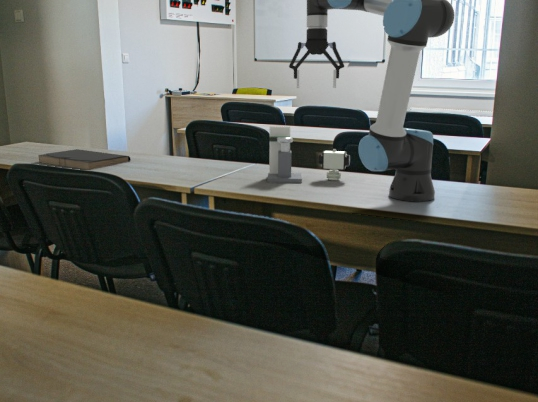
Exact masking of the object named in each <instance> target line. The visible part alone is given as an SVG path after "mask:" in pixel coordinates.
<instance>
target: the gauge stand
mask: <svg viewBox="0 0 538 402" xmlns="http://www.w3.org/2000/svg"><path fill="white" fill-rule="evenodd" d="M269 137H291V126H279V125H278V126H271V125H270V126H269ZM268 152H269V159H268V160H269V164H268V166H269V168H268V169H269V171H268V173H267V180H266V181H267V183H269V184H270V183H272V184H273V183H280V184H282V183H283V184H287V183H288V184H289V183H292V184H293V183H296V184H301V183H303V181H302V180H303V178H302V173H301V172H292V150H291V143H289V152H281V143H278V142H277V141H269V151H268Z"/></svg>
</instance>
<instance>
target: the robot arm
mask: <svg viewBox="0 0 538 402" xmlns="http://www.w3.org/2000/svg"><path fill="white" fill-rule="evenodd" d="M329 10H348V11H351V10H352V11H362V12H364V13H365V12H366V13H370V14H375V15H378V16H381V17H382V25H383V27H384V28H383V30H384V32H385V33H386V35H387V38H386V39H387V42H388V44H389V46H390V52H389V56H388V61H387V66H386V70H385V77H384V81H383V87H382V91H381V96H380V101H379V106H378V111H377V115H376V116H377V117H376V120H375V123H373V124H371V125H370V127H369V130H368V131H369V132H368V134H367V135H365V136H363V137H362V138H361V139H360V141H359V144H358V147H357V148H358V156H359V159H360V161H361V163H362V165H363V166H364V167H365V168H366V169H368V171H371V172H385V171H391V170H395V173H394V174H395V175H394V177H393V178H392V181H391V184H390V186H389V190H388V191H389V192H388V196H389V197H390V198H392V199H395V200H399V201H403V202H404V201H406V202H427V201H432V200H434V199H435V196H436V195H435V193H436V191H435V187H434V183H433V179H432V163H433V151H434V150H433V149H434V144H435V143H434V134H433V133H432V132H431V131H430V130H425V129H424V130H423V129H415V128H407V127H404V125H405V121H406V120H405V119H406V115H407V111H408V107H409V106H408V105H409V103H410V97H411V93H412V88H413V84H414V81H415V80H414V79H415V76H416V70H417V67H418V63H419V62H418V61H419V58H420V57H419V56H420V52H421V51H422V50H423V49H425V48H426V47H427V45H428V41H429V38H437V37H440V36H443V35H444V34H446V33H447V32H448V31H449V30H450V29H451V28H452V26H453V24H454V22H455V11H454V10H455V9H454V6H453V5H452V3H450V2H449V1H448V0H306V28H307V29H306V41H305V42H301V41H299V42H298V43H297V48H296V50H295V52H294V55H293V57H292V59H291V61H290V63H289V65H288V67H289V69H292V70H293V79H296V89H300V70H299V67H300V66H301V65H302V64H303V63H304V61H305V60H306V59H307V58H308V57H309V56H310V55H313V56H315V55H318V56H319V55H320V56H322V55H323V56H325V57H326V58H327V60H328V61H329V63H331V66H333V67H334V69H333V72H332V73H333V78H332V79H333V81H332V82H333V83H332V88H333V89H336V88H337V79H339V78H340V70H341V69H343V68H345V64H344V62H343V59H342V58H341V56H340V53H339V51H338V49H337V43H336V41H332V42H328V29H327V27H328V19H329V18H328V15H329V14H328V11H329ZM304 47H305V48H306V52H305V53H304V54H303V56H302V57H301V58H300V59H299V60H298V62H297V63H296V64H295V62H296V60H297V58H298V57H299V54H300V52H301V50H302V49H304ZM328 47H330V49H332V51H333V54H334V56H335V59H336V60H337V62H338V63H337V62H336V61H335V60H334V58H332V56H331V55H330V53H329V52H328V51H327V49H328ZM294 64H295V65H294ZM338 64H339V65H338Z"/></svg>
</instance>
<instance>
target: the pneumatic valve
mask: <svg viewBox="0 0 538 402" xmlns="http://www.w3.org/2000/svg"><path fill="white" fill-rule="evenodd" d="M317 161H318V166H320V167H321V169H325V170H326V169H328V172H326V179H327V180H329V181H334V182H335V181H339V179H341V177H342V176H341V175H342V173H341V172H340V170H346V167H350V163H351V155H350V154H348V153H347V151H345V150H344V151H341V150H340V151H339V150H338V151H337V149H336V148H333V150H323V151H322V152H321V153H319V154H318V160H317Z"/></svg>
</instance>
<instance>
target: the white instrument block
mask: <svg viewBox="0 0 538 402" xmlns="http://www.w3.org/2000/svg"><path fill="white" fill-rule="evenodd" d="M268 141H269V142H270V141H277V142H278V143H281V152H289V143H290V144H291V143H293V142H294V137H291V136H290V137H270V136H269V139H268Z"/></svg>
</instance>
